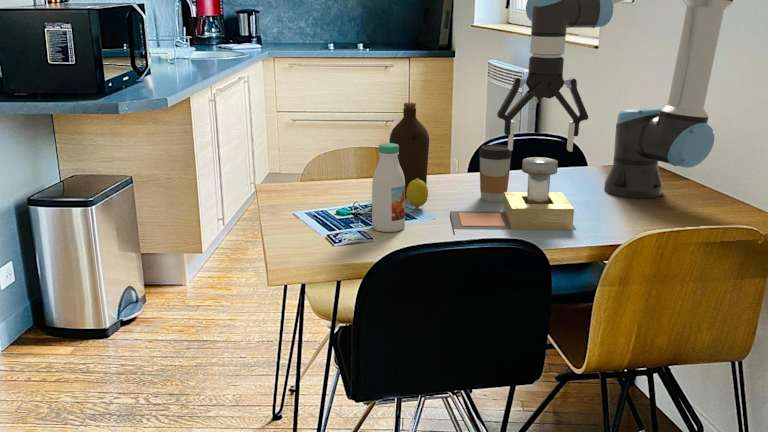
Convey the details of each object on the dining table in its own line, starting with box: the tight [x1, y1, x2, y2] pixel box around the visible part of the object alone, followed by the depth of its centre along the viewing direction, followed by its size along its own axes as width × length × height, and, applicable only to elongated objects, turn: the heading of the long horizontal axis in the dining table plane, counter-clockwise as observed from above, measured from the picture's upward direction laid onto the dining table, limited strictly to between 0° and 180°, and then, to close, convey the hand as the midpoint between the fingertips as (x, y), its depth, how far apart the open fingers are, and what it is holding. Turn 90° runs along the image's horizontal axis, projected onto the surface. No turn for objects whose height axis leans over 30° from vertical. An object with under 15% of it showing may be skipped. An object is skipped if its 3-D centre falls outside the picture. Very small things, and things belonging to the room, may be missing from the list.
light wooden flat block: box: [502, 191, 575, 231], centre depth 178 cm, size 14×14×5 cm
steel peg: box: [521, 156, 559, 204], centre depth 177 cm, size 8×8×14 cm
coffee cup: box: [478, 144, 513, 203], centre depth 195 cm, size 8×8×15 cm
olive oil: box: [389, 101, 430, 200], centre depth 202 cm, size 11×11×25 cm
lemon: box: [406, 178, 429, 209], centre depth 192 cm, size 6×6×8 cm
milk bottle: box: [371, 142, 406, 233], centre depth 175 cm, size 8×8×20 cm
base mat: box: [449, 210, 577, 236], centre depth 179 cm, size 28×14×2 cm, turn 89°
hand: (539, 149), depth 173 cm, fingers open, 13 cm apart
